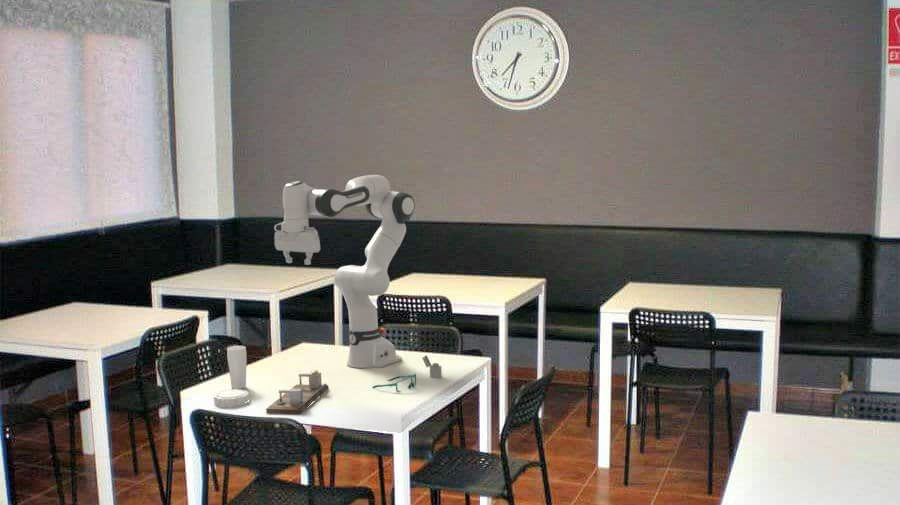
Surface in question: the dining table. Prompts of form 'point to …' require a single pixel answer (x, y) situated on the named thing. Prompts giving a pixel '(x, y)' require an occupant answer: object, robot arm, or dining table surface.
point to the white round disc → (231, 398)
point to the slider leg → (312, 379)
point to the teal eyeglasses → (399, 381)
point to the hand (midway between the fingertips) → (298, 263)
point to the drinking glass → (237, 366)
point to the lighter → (433, 368)
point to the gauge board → (286, 408)
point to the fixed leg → (299, 396)
